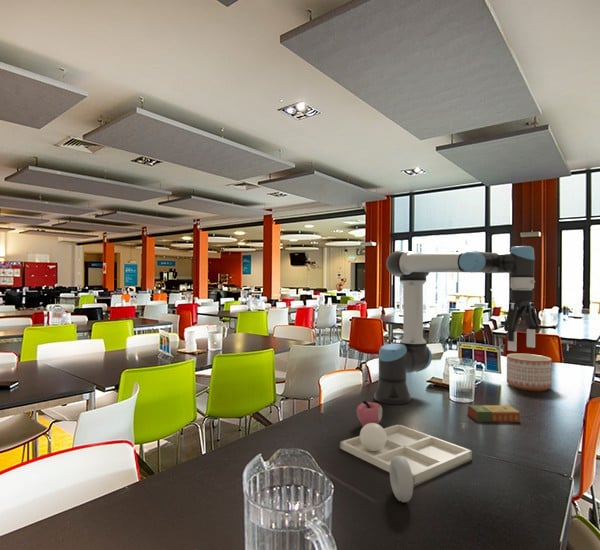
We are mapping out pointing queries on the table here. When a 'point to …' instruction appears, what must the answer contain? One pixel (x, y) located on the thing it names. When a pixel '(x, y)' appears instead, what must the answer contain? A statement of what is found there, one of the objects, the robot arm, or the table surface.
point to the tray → (411, 452)
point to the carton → (493, 413)
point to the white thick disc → (401, 479)
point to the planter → (529, 372)
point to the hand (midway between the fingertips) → (521, 348)
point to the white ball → (373, 437)
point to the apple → (369, 413)
